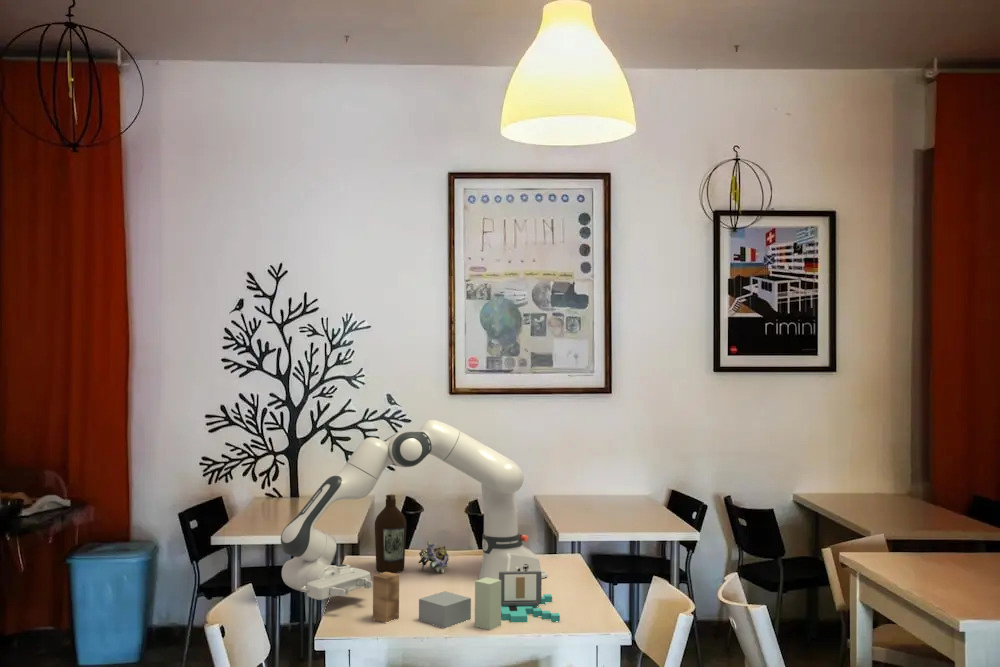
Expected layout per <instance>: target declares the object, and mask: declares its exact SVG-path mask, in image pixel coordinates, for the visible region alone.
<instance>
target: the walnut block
mask: <svg viewBox="0 0 1000 667" xmlns="http://www.w3.org/2000/svg"><path fill="white" fill-rule="evenodd" d="M397 618H399V619H400V574H399V573H390V572H383V573H380V572H379V573H377V574H373V576H372V620H373V619H375V620H379V621H382V622H381V623H383V622H389V621H391V620H394V619H397ZM375 620H374V621H375ZM397 620H398V619H397ZM379 621H378V622H379ZM394 621H395V620H394ZM391 622H392V621H391ZM389 623H390V622H389Z"/></svg>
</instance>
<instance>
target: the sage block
mask: <svg viewBox="0 0 1000 667" xmlns="http://www.w3.org/2000/svg"><path fill="white" fill-rule="evenodd" d="M499 625H501V626H502V618H501V580H498V579H493V578H488V577H485V578H483V579H478V580H475V581H474V627H475V626H476V627H475V628H479V627H480V629H483V630H486V631H491V629H492V630H493V629H495V628H498V627H500V626H499ZM497 626H498V627H497Z"/></svg>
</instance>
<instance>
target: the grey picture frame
mask: <svg viewBox="0 0 1000 667" xmlns="http://www.w3.org/2000/svg"><path fill="white" fill-rule="evenodd" d="M542 579H543V578H542V572H541V571H504V572H499V580H501V605H503V606H522V605H538V604H541V597H542V586H543V585H542V581H543V580H542ZM538 606H539V605H538Z"/></svg>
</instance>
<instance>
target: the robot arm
mask: <svg viewBox="0 0 1000 667" xmlns="http://www.w3.org/2000/svg"><path fill="white" fill-rule="evenodd" d="M428 455H432V456H434V457H435V458H437V459H439V460H440V461H442V462H444V463H446V464H448V465H449V466H451V467H452V468H455V469H456V470H458V471H460V472H462V473H463V474H465V475H467V476H469V477H470V478H472V479H474V480H475V481H477V482H479V483H480V485H481V496H482V503H483V533H482V544H481V545H482V558H481V559H482V561H481V566H480V570H479V575H478V580H480V579H483V578H485V577H488V578H493V579H498V580H499V572H504V571H541V572H542V579H546V578H548V573H547V571H545V570H544V569H542V568H541V564H540V559H539V557H538V556H537V554H536V553H534V552H533V551H532V550H530V549H529V548H528V547H526V546H525V545H523V542H524V543H528V541H529V539H530V537H529V536H528V535H526V534H520V533H519V532H518V531H519V509H518V505H517V500H516V493H517V491H520V489H521V487H522V486H523V484H524V477H525V476H524V473H523V470H522V469H521V466H520V465H519V464H518V463H516V462H515V461H514V460H512V459H510V458H509V457H507V456H505V455H503V454H501V453H500V452H498V451H496V450H494V449H493V448H491V447H489V446H487V445H486V444H483V442H480V441H479V440H477V439H475V438H474V437H471V436H470V435H468V434H467V433H464V432H463V431H461V430H460V429H458V428H456V427H454V426H452V425H450V424H448V423H445V422H443V421H439V420H437V419H430V420H426V422H425V423H423V424H422V426H421V427H420V428H419V430H418V431H401V432H398V433H395V434H393V435H391V436H390V437H387V438H386V439H384V440H382V439H380V438H378V437H373V436H371V437H370V436H369V437H366V438H365V439H364V440H363V441H362V442H360V444H359V445H358V446H357V447H356V449H355V450H354V451H353V453H352V454H351V456H350V457H349V458H348V460H347V462H346V464H345V465H344V466H343V468H342V469H341V470H340V471H339V472H337V474H335V475H332V476H329V477H328V478H327V479H326V480H325V481H324V482H323V483H321V485H320V486H319V488H318V489H317V490H316V491H315V492H314V494H313V495H312V496H311V497H310V498H309V500H308V502H307V503H305V505H304V506H303V508H302V509H301V510H300V512H299V513H298V514H297V515H296V516H295V517H294V518H293V519H292V520H291V521H290V522H289V523H288V524H287V525H286V526H285V527H284V528H283V530H282V532H281V534H280V546H281V548H282V550H283V552H284V553H285V554H287V555H289V556H291V557H293V558H291V559H289V560H287V561H285V563H284V564H283V566H282V568H281V578H282V580H283V583H284V584H285V585H286V586H288V587H289V588H291V589H293V590H295V591H299V592H303V593H306V596H307V597H309V598H312V599H314V600H317V601H321V600H325V599H328V598H333V597H337V596H339V597H346V596H348V595H349V592H352V591H354V590H357V589H361V588H364V589H371V588H373V580H372V577H371V572H370V571H368V570H365V569H362V568H358V567H351V565H350V564H346V563H345V564H335V565H333V562H334V561H335V557H336V555H337V550H338V543H337V541H336V538H335V537H333V536H331V535H330V534H328V533H326V532H324V531H322V530H320V529H317V528H316V527H315V524H316V523H317V522H318V521H319V520H320V518H321V517H322V515H323V514H324V513H325V512H326V511H327V510H328V508H329V506H330V505H331V504H333V503H335V502H337V501H340V500H359V499H362V498H365V497H367V496H369V494H370V493H371V492H372V491H373V489H374V488H375V487H376V485H377V483H378V481H379V479H380V477H381V476H382V473H383V472H384V471H385V470H386V469H387V467H389V466H390V465H392V466H395V467H400V468H411V467H415V466H417V465H419V464H420V463H421V462H423V460H424V459H425V458H426V457H427V456H428ZM545 577H546V578H545ZM371 580H372V581H371Z"/></svg>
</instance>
